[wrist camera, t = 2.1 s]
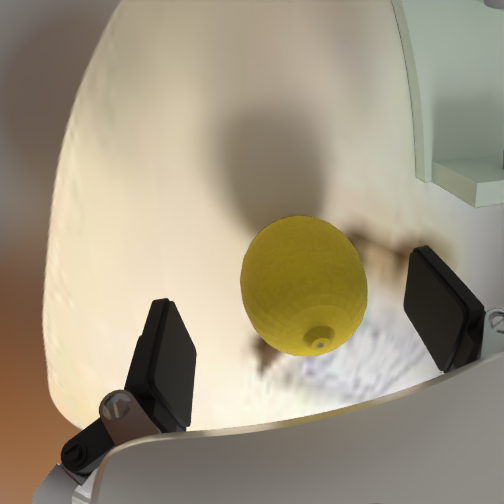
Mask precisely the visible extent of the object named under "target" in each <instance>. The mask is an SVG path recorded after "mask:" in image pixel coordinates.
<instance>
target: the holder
mask: <svg viewBox="0 0 504 504" xmlns="http://www.w3.org/2000/svg"><path fill="white" fill-rule="evenodd" d="M392 4H393V7H394V11H395V15H396V19H397V23H398V27H399V32H400V36H401V41H402V46H403V51H404V56H405V61H406V67H407V73H408V80H409V87H410V95H411V103H412V113H413V124H414V137H415V157H416V178H418V179H419V180H421V181H423V182H425V183H426V182H433V183H435V184H436V185H438V186H440V187H442V188H443V189H445V190H447V191H448V192H450V193H452V194H453V195H455V196H457V197H458V198H460V199H461V200H463V201H465V202H466V203H468V204H469V205H471V206H472V207H474V208H479V207H484V206H490V205H495V204H500V203H504V0H392Z"/></svg>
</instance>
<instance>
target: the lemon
mask: <svg viewBox="0 0 504 504" xmlns="http://www.w3.org/2000/svg"><path fill="white" fill-rule="evenodd" d="M240 285H241V293H242V300H243V304H244V307H245V310H246V312H247V315H248V317H249V319H250V321H251V323H252V325H253V327H254V328H255V330H256V331H257V333H258V334H259V335H260V336H261V337H262V338H263V339H264V340H265V341H266V342H267V343H268V344H269V345H271V346H272V347H274V348H276V349H278V350H279V351H281V352H284V353H287V354H291V355H294V356H306V357H308V356H317V355H321V354H325V353H328V352H330V351H332V350H334V349H336V348H337V347H339V346H340V345H342V344H343V343H345V342H346V341H347V340H348V339H349V338H350V337H351V336H352V335H353V334H354V332H355V331H356V329H357V328H358V326H359V325H360V323H361V321H362V319H363V316H364V313H365V309H366V306H367V280H366V275H365V271H364V268H363V265H362V262H361V259H360V257H359V254H358V253H357V251H356V249H355V248H354V247H353V245H352V244H351V242H350V241H349V240H348V238H347V237H346V236H345V235H344V234H343V233H342V232H341V231H339V230H338V229H337V228H335V227H334V226H332V225H331V224H330V223H328V222H326V221H323V220H320V219H318V218H315V217H309V216H299V215H298V216H291V217H285V218H282V219H280V220H277V221H275V222H273V223H271V224H270V225H268V226H267V227H266V228H264V229H263V230H261V231H260V232H259V234H258V235H257V236H256V237H255V238H254V239H253V241H252V242H251V244H250V246H249V248H248V250H247V252H246V254H245V256H244V259H243V264H242V270H241V276H240Z"/></svg>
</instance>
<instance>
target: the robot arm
mask: <svg viewBox="0 0 504 504" xmlns="http://www.w3.org/2000/svg"><path fill="white" fill-rule="evenodd" d="M404 311H405V313H406V314H407V316H408V318H409V319H410V321H411V322H412V324H413V326H414V327H415V329H416V331H417V332H418V334H419V336H420V337H421V339H422V341H423V342H424V344H425V346H426V347H427V349H428V351H429V353H430V354H431V356H432V358H433V360H434V361H435V363H436V365H437V367H438V368H439V370H440V371H444V373H445V374H444V375H441V376H438V377H436V378H434V379H431V380H428V381H426V382H423V383H421V384H418V385H415V386H412V387H410V388H407V389H404V390H401V391H398V392H395V393H392V394H389V395H386V396H383V397H379V398H376V399H373V400H370V401H366V402H363V403H359V404H355V405H352V406H348V407H344V408H340V409H336V410H332V411H328V412H323V413H319V414H314V415H310V416H305V417H300V418H294V419H289V420H283V421H277V422H271V423H265V424H258V425H250V426H242V427H233V428H223V429H213V430H201V431H186V427H189V426H190V423H191V412H192V399H193V387H194V376H195V366H196V349H195V346H194V344H193V342H192V340H191V338H190V336H189V334H188V331H187V329H186V327H185V325H184V323H183V321H182V318H181V316H180V314H179V312H178V310H177V307H176V305H175V303H174V302H173V301H169V299H168V298H164V299H158V300H153V302H152V304H151V307H150V310H149V313H148V317H147V320H146V323H145V326H144V330H143V333H142V335H141V336H140V337H139V339H138V341H137V344H136V348H135V351H134V355H133V358H132V362H131V365H130V369H129V372H128V376H127V380H126V384H125V387H124V390H115V391H113V392H111V393H109V394H108V395H106V396H105V397H104V398H103V400H102V401H101V403H100V406H99V415H100V418H98V419H97V420H96V421H94V422H93V423H92V424H90V425H89V426H88V427H86V428H85V429H84V430H82V431H81V432H80V433H78V434H77V435H76V436H74V437H73V438H72V439H70V440H69V441H68V442H67V443H66V444H65V445H64V447H63V449H62V452H61V461H62V463H61V464H60V465H59V464H56V465H55V466H54V467H53V469H52V470H51V471H50V473H49V474H48V475H47V476H46V478H45V479H44V480H43V482H42V483H41V484H40V486H39V487H38V488H37V490H36V491H35V492H34V495H33V497H32V504H504V310H503V309H497V308H496V309H491V310H490V311H488V312H487V313H486V312H485V311H484V306H483V305H482V304H481V302H480V301H479V300H478V299H477V298H476V296H475V295H474V294H473V293H472V292H471V291H470V290H469V288H468V287H467V286H466V285H465V284H464V283H463V282H462V281H461V280H460V278H459V277H458V276H457V275H456V274H455V273H454V272H453V271H452V270H451V269H450V268H449V267H448V266H447V265H446V263H445V262H444V261H443V260H442V259H441V258H440V257H439V256H438V255H437V254H436V253H435V252H434V251H433V250H432V249H431V248H430V247H429V246H427V245H425V246H421V247H417V248H414V250H413V252H412V253H411V254H410V258H409V267H408V275H407V283H406V290H405V297H404Z"/></svg>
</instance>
